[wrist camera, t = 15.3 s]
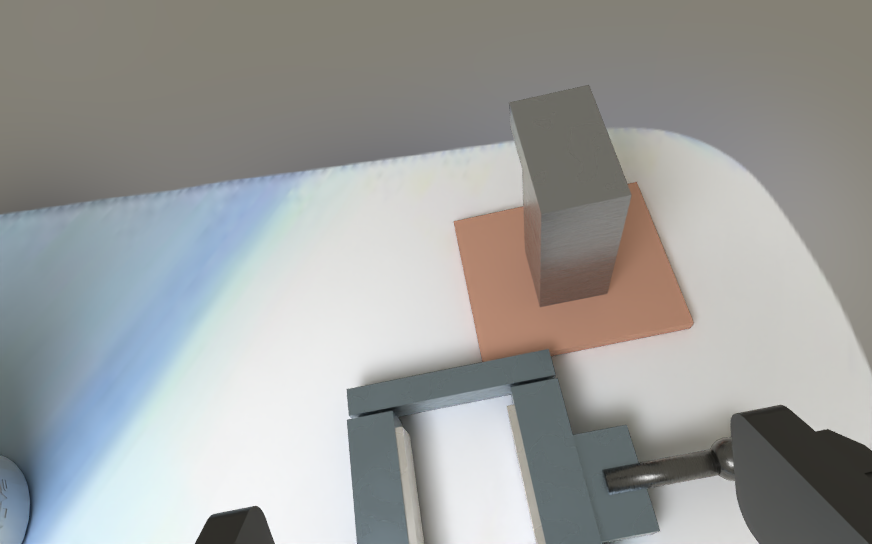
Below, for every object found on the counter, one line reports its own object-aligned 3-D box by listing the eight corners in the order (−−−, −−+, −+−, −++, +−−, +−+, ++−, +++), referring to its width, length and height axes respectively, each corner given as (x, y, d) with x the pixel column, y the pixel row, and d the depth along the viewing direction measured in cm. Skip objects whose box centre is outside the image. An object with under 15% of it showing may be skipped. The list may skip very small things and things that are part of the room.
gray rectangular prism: (539, 307, 35) (541, 214, 26) (515, 213, 38) (509, 102, 29) (607, 293, 35) (631, 194, 26) (576, 200, 38) (588, 85, 29)
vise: (379, 651, 28) (363, 658, 26) (356, 399, 35) (341, 383, 32) (786, 580, 27) (813, 580, 25) (688, 332, 34) (701, 311, 31)
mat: (484, 369, 34) (482, 364, 34) (454, 227, 39) (453, 221, 38) (690, 328, 34) (693, 322, 33) (634, 189, 39) (636, 182, 38)
